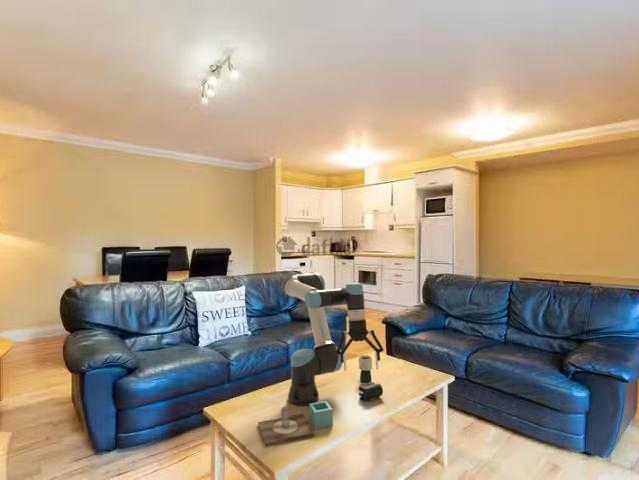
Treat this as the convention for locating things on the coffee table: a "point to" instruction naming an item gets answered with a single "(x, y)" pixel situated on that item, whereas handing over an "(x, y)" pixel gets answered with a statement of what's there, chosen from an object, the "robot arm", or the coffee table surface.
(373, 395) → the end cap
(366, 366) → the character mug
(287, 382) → the coffee table surface
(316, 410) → the teal ring
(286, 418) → the post stand
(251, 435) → the coffee table surface
